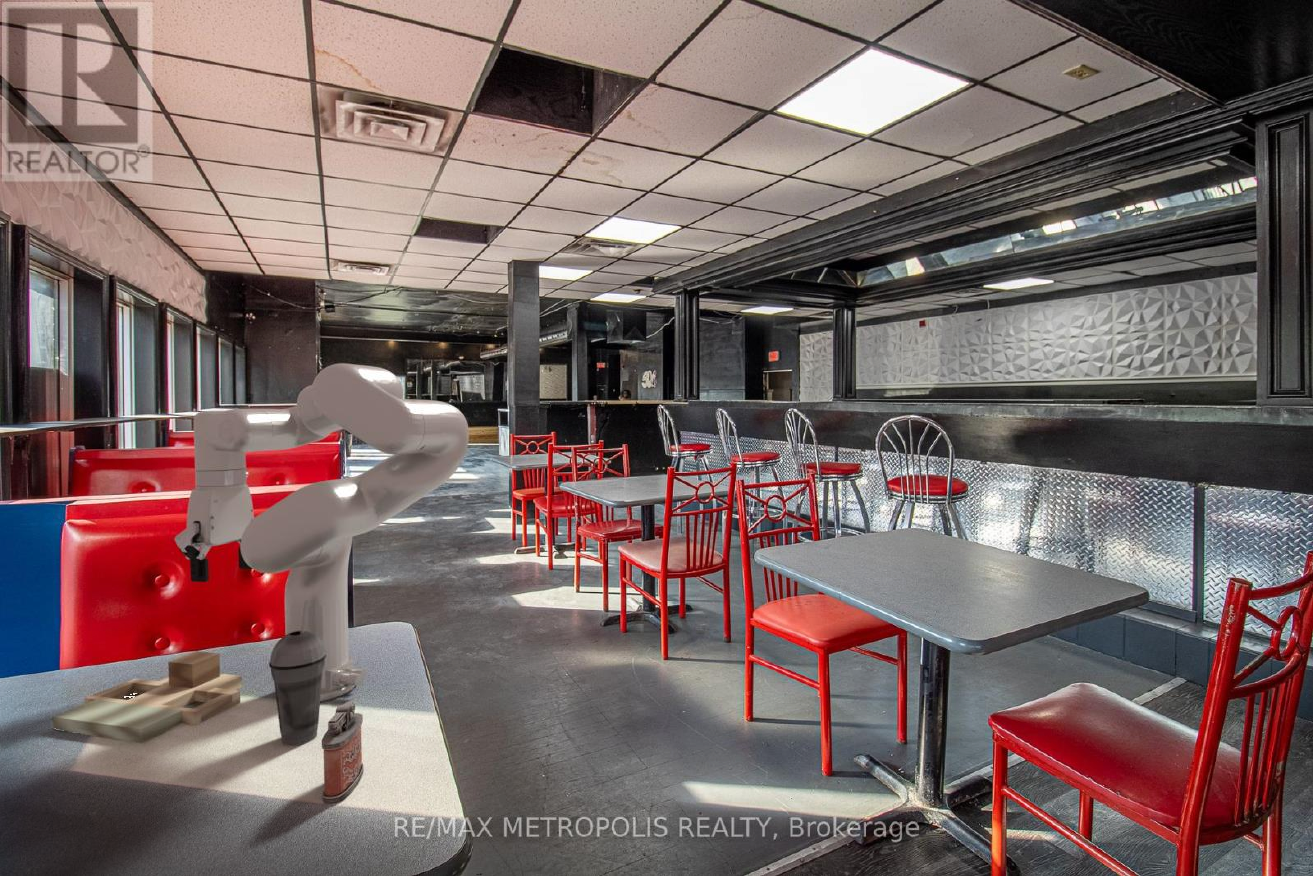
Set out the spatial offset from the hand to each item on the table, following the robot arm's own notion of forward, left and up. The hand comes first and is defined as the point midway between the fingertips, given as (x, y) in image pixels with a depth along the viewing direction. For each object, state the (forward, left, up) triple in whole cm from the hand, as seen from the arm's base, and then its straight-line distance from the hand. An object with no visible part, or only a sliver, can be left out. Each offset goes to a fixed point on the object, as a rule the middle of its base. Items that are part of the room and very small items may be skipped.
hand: (224, 574), depth 115 cm
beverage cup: (-30, +16, -19) cm, 39 cm away
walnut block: (0, +7, -17) cm, 18 cm away
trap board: (0, +13, -19) cm, 22 cm away
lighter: (-45, +25, -19) cm, 55 cm away
